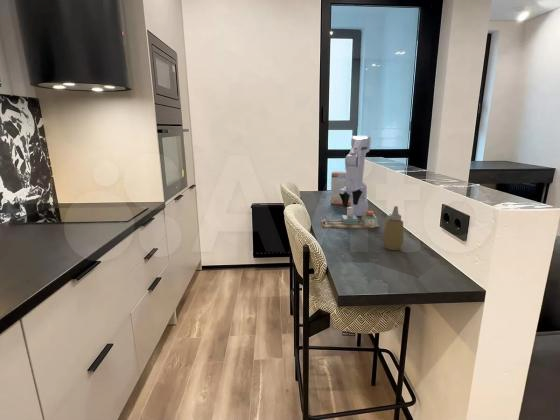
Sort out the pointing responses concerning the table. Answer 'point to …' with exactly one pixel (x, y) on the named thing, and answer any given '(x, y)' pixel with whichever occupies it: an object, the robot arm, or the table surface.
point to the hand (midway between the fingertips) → (350, 205)
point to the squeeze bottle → (394, 231)
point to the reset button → (369, 213)
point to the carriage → (350, 217)
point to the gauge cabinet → (369, 220)
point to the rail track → (341, 224)
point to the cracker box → (338, 187)
